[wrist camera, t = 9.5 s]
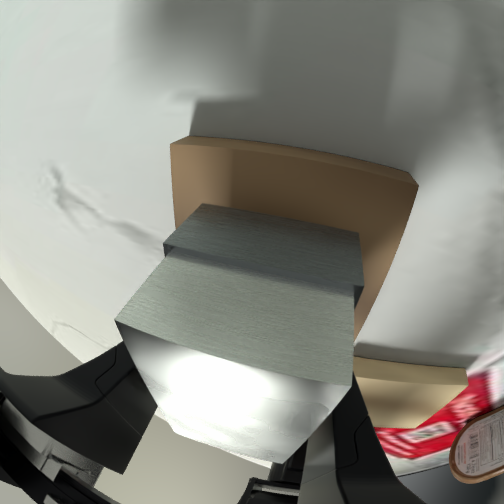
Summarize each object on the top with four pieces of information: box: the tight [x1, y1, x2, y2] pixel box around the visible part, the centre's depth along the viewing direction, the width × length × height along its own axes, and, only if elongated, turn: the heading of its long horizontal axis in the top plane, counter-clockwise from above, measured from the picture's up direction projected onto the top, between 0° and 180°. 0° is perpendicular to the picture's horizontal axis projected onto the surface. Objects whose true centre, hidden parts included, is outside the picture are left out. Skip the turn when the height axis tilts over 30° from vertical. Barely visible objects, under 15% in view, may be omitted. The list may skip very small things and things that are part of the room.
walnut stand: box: [170, 136, 419, 341], centre depth 12 cm, size 11×9×2 cm
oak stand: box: [353, 356, 468, 428], centre depth 16 cm, size 8×10×2 cm
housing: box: [114, 203, 364, 464], centre depth 9 cm, size 5×8×5 cm, turn 177°
